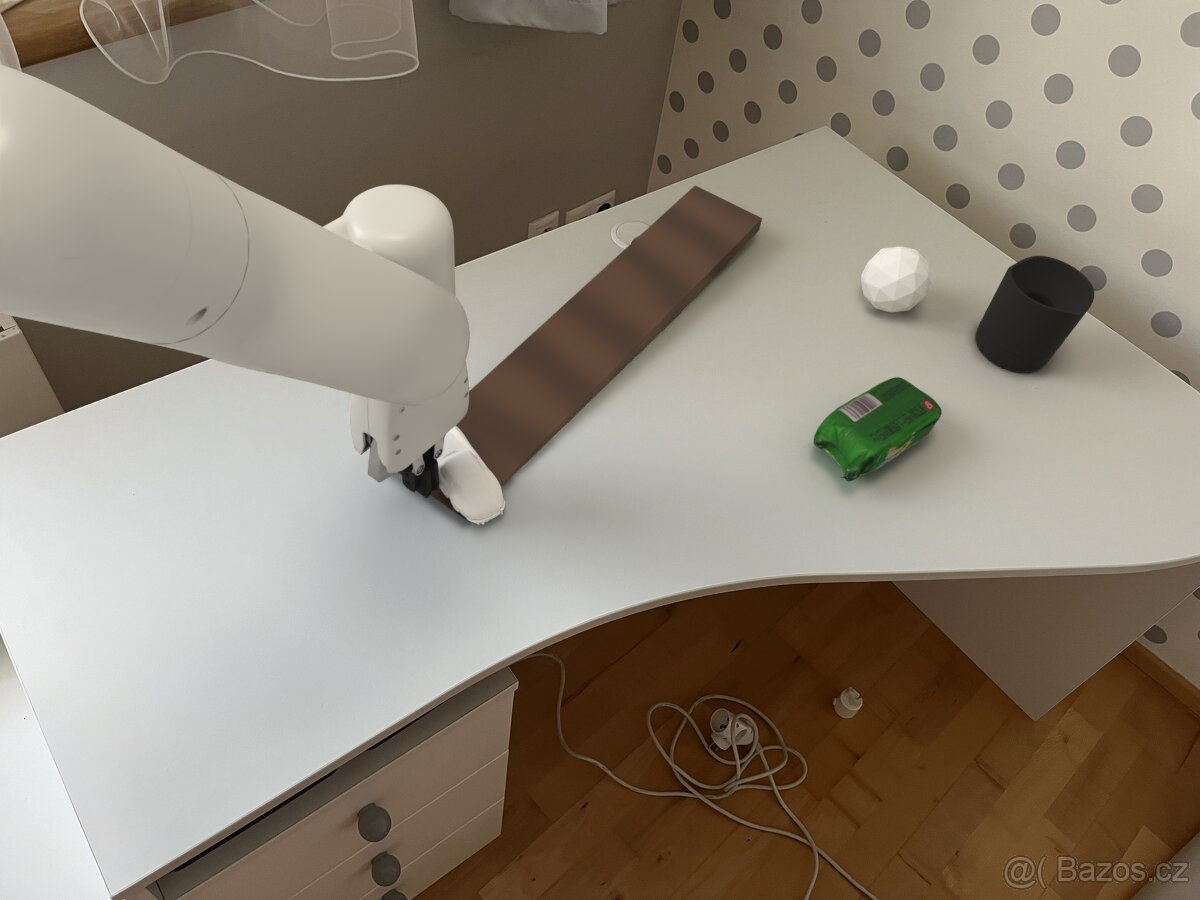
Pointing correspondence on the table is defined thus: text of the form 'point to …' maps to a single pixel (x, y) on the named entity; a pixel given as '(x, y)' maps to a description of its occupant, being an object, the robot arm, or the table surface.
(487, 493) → the toy car
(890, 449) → the snack package
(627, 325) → the ramp
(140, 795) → the table surface
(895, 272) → the geometric ball
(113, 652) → the table surface
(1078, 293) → the pen holder
